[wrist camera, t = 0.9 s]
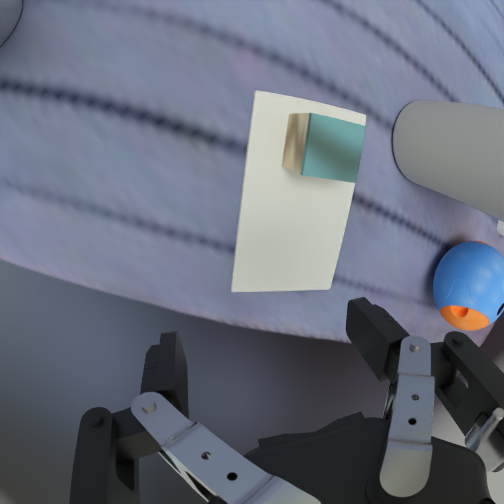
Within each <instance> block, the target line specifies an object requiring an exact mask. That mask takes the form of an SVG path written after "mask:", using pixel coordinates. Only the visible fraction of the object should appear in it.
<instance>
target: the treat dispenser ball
mask: <svg viewBox="0 0 504 504" xmlns="http://www.w3.org/2000/svg"><path fill="white" fill-rule="evenodd" d="M433 295H434V300H435V304H436V306H437V308H438V310H439V312H440V313H441V315H442V316H443V318H444V319H445V320H446V321H447V322H448V323H450V324H451V325H452V326H454V327H456V328H458V329H461V330H468V331H470V330H478V329H481V328H484V327H486V326H488V325H490V324H491V323H493V322H494V321H495V320H496V319H497V318H498V317H499V316H500V314H501V313H502V312H503V310H504V258H503V257H502V255H501V254H500V253H499V252H498V251H497V250H496V249H495V248H493V247H491V246H490V245H488V244H486V243H483V242H480V241H468V242H464V243H461V244H458V245H456V246H454V247H453V248H451V249H450V250H449V251H448V252H447V253H446V254H445V255H444V256H443V258H442V259H441V261H440V262H439V264H438V266H437V269H436V272H435V275H434V280H433Z"/></svg>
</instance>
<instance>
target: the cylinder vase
mask: <svg viewBox="0 0 504 504" xmlns="http://www.w3.org/2000/svg"><path fill="white" fill-rule="evenodd" d="M393 151H394V156H395V159H396V162H397V165H398V167H399V169H400V170H401V172H402V173H403V174H404V176H405V177H406V178H407V179H409V180H410V181H411V182H413V183H416V184H418V185H421V186H423V187H426V188H429V189H431V190H434V191H436V192H439V193H441V194H443V195H446V196H448V197H451V198H453V199H455V200H458V201H460V202H462V203H464V204H467V205H469V206H471V207H473V208H475V209H478V210H480V211H482V212H484V213H486V214H488V215H490V216H492V217H494V218H496V219H498V220H500V221H502V222H504V109H501V108H495V107H488V106H481V105H474V104H465V103H456V102H444V101H430V100H417V101H414V102H411V103H410V104H408V105H407V106H406V107H405V108H404V109H403V110H402V111H401V113H400V114H399V116H398V118H397V120H396V123H395V127H394V131H393Z"/></svg>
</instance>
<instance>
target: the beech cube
mask: <svg viewBox="0 0 504 504" xmlns="http://www.w3.org/2000/svg"><path fill="white" fill-rule="evenodd" d="M365 127H366V126H363V125H360V124H356V123H352V122H348V121H345V120H341V119H337V118H332V117H328V116H324V115H319V114H315V113H292V114H289V118H288V125H287V132H286V139H285V146H284V153H283V160H282V166H283V167H285V168H287V169H289V170H292V171H294V172H296V173H298V174H300V175H302V176H309V177H317V178H324V179H331V180H338V181H345V182H351V183H356V179H357V174H358V169H359V163H360V158H361V152H362V146H363V140H364V133H365Z"/></svg>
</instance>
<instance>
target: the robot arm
mask: <svg viewBox="0 0 504 504" xmlns="http://www.w3.org/2000/svg"><path fill="white" fill-rule="evenodd" d="M21 11H22V0H0V45H1V44H2V43H3V42H4V41H5V40H6V39H7V38H8V36H9V35H10V34H11V32H12V31H13V29H14V27H15V26H16V24H17V22H18V20H19V17H20V14H21ZM346 333H347V336H348V338H349V339H350V341H351V342H352V343H353V345H354V346H355V348H356V349H357V350H358V352H359V353H360V354H361V356H362V357H363V359H364V360H365V362H366V363H367V364H368V366H369V367H370V369H371V370H372V371H373V373H374V374H375V375H376V377H377V379H378V380H379V381H380V382H381V381H383V380H386V379H389V380H390V384H389V389H388V394H387V399H386V404H385V409H384V413H383V418H375V417H368V418H364V416H363V414H362V412H358V413H355V414H352V415H349V416H346V417H343V418H341V419H337V420H336V421H334V422H332V423H330V424H329V425H327V426H325V427H323V428H322V429H320V430H318V431H316V432H312V433H294V434H282V435H277V436H272V437H268V438H263V439H258V443H259V447H257V448H255V449H253V450H251V451H249V452H247V453H246V454H244V455H243V456H242V455H240V454H239V453H238V452H236V451H235V450H233V449H232V448H231V447H229V446H228V445H227V444H225V443H224V442H223V441H221V440H220V439H219V438H218V437H216V436H215V435H214V434H212V433H211V432H210V431H209V430H207V429H206V428H205V427H204V426H203V425H201V424H200V423H197V422H196V423H195V424H193V423H192V422H191V421H189V411H188V376H187V375H188V374H187V372H188V371H187V363H186V357H185V354H184V351H183V347H182V344H181V340H180V337H179V333H178V331H175V332H167V333H161V338H160V344H159V345H152V346H151V347H150V349H149V350H148V352H147V353H146V358H145V364H144V371H143V377H142V384H141V392H140V395H139V396H138V397H136V398H135V399H134V400H133V402H132V405H131V407H130V408H128V409H125V410H122V411H119V412H116V413H112V414H111V412H110V411H109V410H107V409H106V408H103V407H96V408H92V409H90V410H88V411H87V412H86V413H85V414H84V415H83V416H82V419H81V422H80V427H79V432H78V439H77V444H76V451H75V458H74V465H73V473H72V481H71V492H70V504H140V489H139V488H140V487H139V458H141V457H144V456H147V455H150V454H154V453H157V452H158V453H159V454H160V455H161V456H162V457H163V458H164V459H165V460H166V461H167V462H168V463H169V464H170V465H171V466H172V467H173V468H174V469H175V470H176V471H177V472H178V473H179V474H180V475H181V476H182V477H183V478H184V479H185V480H186V481H187V482H188V484H189V485H190V486H191V487H192V488H193V489H194V490H195V491H196V492H197V493H199V494H200V495H201V496H202V497H203V498H204V499H205V500H207V501H208V503H207V504H495V503H494V501H493V500H492V499H491V496H490V493H489V490H488V486H487V475H488V474H489V473H491V472H498V471H500V470H502V469H503V468H504V373H503V372H502V371H501V370H500V369H499V368H498V367H497V366H496V365H495V364H494V363H493V362H492V361H491V359H490V358H489V357H488V356H487V355H486V354H484V352H483V351H482V350H481V349H480V348H479V347H478V346H477V345H476V344H475V343H474V342H473V341H472V340H471V339H470V338H469V337H468V336H467V335H465V334H464V333H461V332H457V331H453V332H449V333H447V334H446V336H445V338H444V341H443V342H438V343H429V342H428V341H427V340H426V339H425V338H423V337H420V336H410V335H409V334H408V333H407V332H406V331H405V330H404V329H403V328H402V327H401V326H400V325H399V324H398V323H397V321H395V320H394V318H393V317H392V316H390V314H389V313H388V312H387V311H386V310H385V309H383V308H381V307H379V306H377V305H375V304H374V305H372V304H371V303H370V302H369V301H368V300H367V299H366V298H365V297H361V298H357V299H353V300H349V302H348V308H347V319H346ZM459 372H460V373H461V374H462V375H463V376H464V377H465V378H466V380H467V382H468V388H467V387H466V386H465V384H464V383H463V382H462V381H461V379H460V378H459V377H458V374H459ZM434 393H435V394H436V395H437V397H438V398H439V400H440V401H441V402H442V404H443V405H444V407H445V408H446V409H447V411H448V412H449V413H450V415H451V417H452V418H453V419H454V421H455V422H456V424H457V425H458V427H459V428H460V430H461V431H462V433H463V434H464V436H465V445H466V447H463V446H460V445H456V444H453V443H450V442H447V441H444V440H441V439H439V438H436V437H433V436H431V434H432V422H433V409H434Z"/></svg>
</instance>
